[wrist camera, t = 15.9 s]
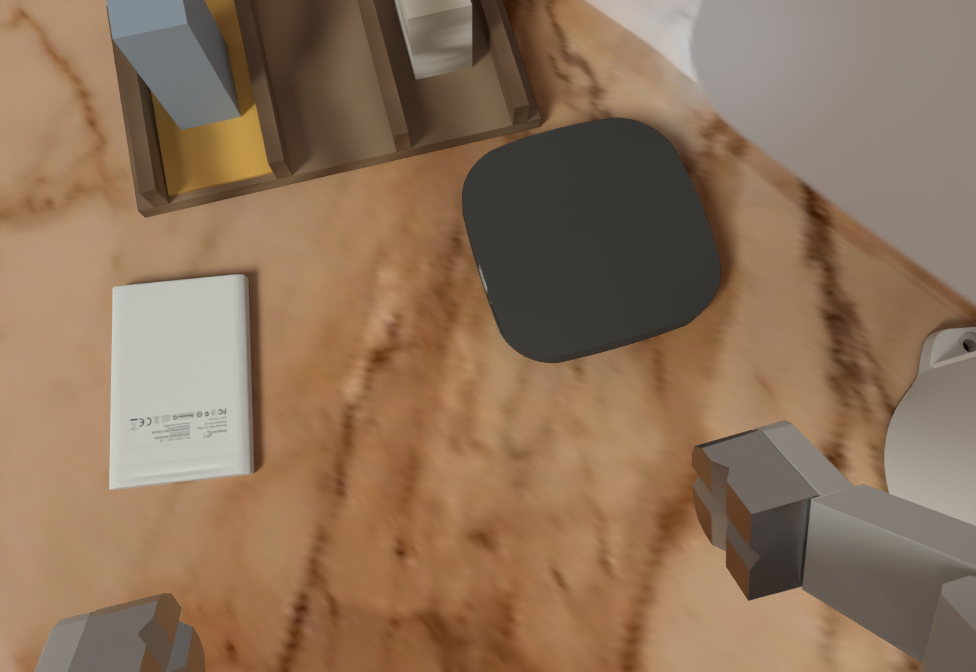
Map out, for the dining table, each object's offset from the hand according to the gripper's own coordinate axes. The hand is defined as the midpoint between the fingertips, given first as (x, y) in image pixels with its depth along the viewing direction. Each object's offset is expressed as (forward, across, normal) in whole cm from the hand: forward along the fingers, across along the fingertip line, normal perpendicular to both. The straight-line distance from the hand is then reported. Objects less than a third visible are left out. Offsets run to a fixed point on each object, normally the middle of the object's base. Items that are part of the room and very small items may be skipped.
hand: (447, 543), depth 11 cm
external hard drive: (+32, +15, +14) cm, 38 cm away
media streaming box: (+33, -12, +12) cm, 37 cm away
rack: (+45, +2, -1) cm, 45 cm away
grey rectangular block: (+44, +10, -2) cm, 45 cm away
